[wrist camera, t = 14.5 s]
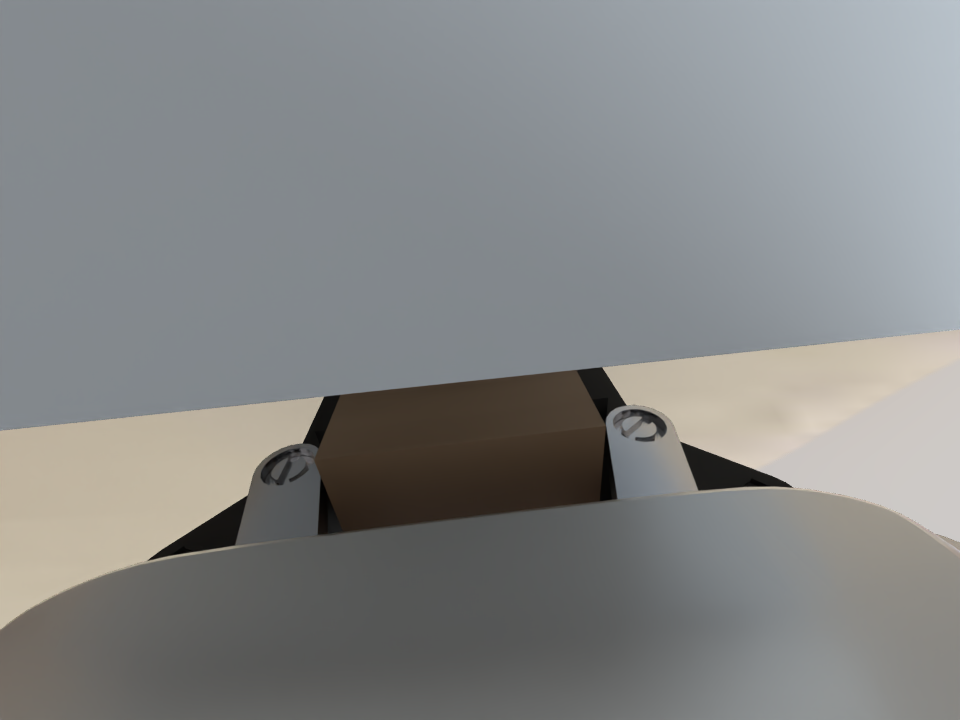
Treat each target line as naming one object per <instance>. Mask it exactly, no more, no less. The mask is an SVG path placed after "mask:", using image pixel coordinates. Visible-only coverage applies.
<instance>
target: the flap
mask: <svg viewBox="0 0 960 720" xmlns="http://www.w3.org/2000/svg"><path fill="white" fill-rule="evenodd" d="M959 329H960V0H0V431H1V430H10V429H20V428H29V427H39V426H48V425H58V424H67V423H77V422H86V421H96V420H105V419H115V418H124V417H134V416H143V415H153V414H162V413H172V412H181V411H191V410H200V409H209V408H219V407H228V406H238V405H247V404H257V403H266V402H276V401H285V400H295V399H304V398H314V397H323V396H333V395H342V394H352V393H361V392H371V391H380V390H390V389H399V388H409V387H418V386H428V385H437V384H447V383H456V382H466V381H475V380H485V379H494V378H504V377H513V376H523V375H532V374H542V373H551V372H561V371H570V370H580V369H589V368H599V367H608V366H618V365H627V364H637V363H646V362H656V361H665V360H675V359H684V358H694V357H703V356H712V355H722V354H731V353H741V352H750V351H760V350H769V349H779V348H788V347H798V346H807V345H817V344H826V343H836V342H845V341H855V340H864V339H874V338H883V337H893V336H902V335H912V334H921V333H931V332H940V331H950V330H959Z"/></svg>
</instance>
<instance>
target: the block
mask: <svg viewBox="0 0 960 720" xmlns="http://www.w3.org/2000/svg"><path fill="white" fill-rule="evenodd" d="M605 431H606V425H605V423H604V421H603V420H602V418H601V416H600V414H599V412H598V410H597V408H596V406H595V404H594V403H593V401H592V399H591V397H590V395H589V393H588V391H587V389H586V388H585V386H584V384H583V382H582V380H581V378H580V376H579V374H578V372H577V371H576V370H570V371H561V372H551V373H542V374H532V375H523V376H513V377H504V378H494V379H485V380H475V381H466V382H456V383H447V384H437V385H428V386H418V387H409V388H399V389H390V390H380V391H371V392H361V393H352V394H342V395H340V398H339V400H338V402H337V405H336V407H335V410H334V412H333V415H332V417H331V420H330V422H329V424H328V427H327V429H326V432H325V434H324V437H323V439H322V442H321V444H320V446H319V449H318V451H317V454H316V456H315V459H314V462H315V464H316V466H317V469H318V471H319V474H320V476H321V479H322V481H323V484H324V486H325V489H326V491H327V493H328V496H329V498H330V501H331V503H332V506H333V508H334V511H335V513H336V515H337V518H338V520H339V523H340V525H341V528H342V530H343V532H347V531H355V530H363V529H371V528H379V527H387V526H395V525H403V524H411V523H420V522H428V521H436V520H445V519H453V518H461V517H470V516H478V515H486V514H495V513H503V512H512V511H520V510H529V509H537V508H546V507H555V506H564V505H572V504H581V503H590V502H599V501H600V491H601V479H602V467H603V455H604V443H605Z"/></svg>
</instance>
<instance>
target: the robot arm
mask: <svg viewBox="0 0 960 720" xmlns="http://www.w3.org/2000/svg"><path fill="white" fill-rule="evenodd" d="M576 371H577V372H578V374H579V376H580V378H581V380H582V382H583V384H584V386H585V388H586V389H587V391H588V393H589V395H590V397H591V399H592V401H593V403H594V404H595V406H596V408H597V410H598V412H599V414H600V416H601V418H602V420H603V421H604V423H605V425H606V431H605V443H604V455H603V467H602V479H601V491H600V501H599V502H590V503H581V504H572V505H564V506H555V507H546V508H537V509H529V510H520V511H512V512H503V513H495V514H486V515H478V516H470V517H461V518H453V519H445V520H436V521H428V522H420V523H411V524H403V525H395V526H387V527H379V528H371V529H363V530H355V531H347V532H343V530H342V528H341V525H340V523H339V520H338V518H337V515H336V513H335V511H334V508H333V506H332V503H331V501H330V498H329V496H328V493H327V491H326V489H325V486H324V484H323V481H322V479H321V476H320V474H319V471H318V469H317V466H316V464H315V462H314V459H315V456H316V454H317V451H318V449H319V446H320V444H321V442H322V439H323V437H324V434H325V432H326V429H327V427H328V424H329V422H330V420H331V417H332V415H333V412H334V410H335V407H336V405H337V402H338V400H339V398H340V395H333V396H324V399H323V401H322V403H321V405H320V407H319V409H318V412H317V414H316V416H315V418H314V420H313V422H312V424H311V427H310V429H309V431H308V433H307V435H306V437H305V440H304V442H303V444H295V445H290V446H287V447H284V448H281V449H279V450H278V451H276V452H274V453H272V454H270V455H269V456H268V457H267V458H265V459H264V460H263V461H262V462H261V463H260V464H259V465H258V467H257V468H256V470H255V472H254V474H253V477H252V481H251V485H250V489H249V493H248V496H246V497H244V498H243V499H241V500H240V501H238V502H236V503H235V504H233V505H232V506H230V507H229V508H227V509H225V510H224V511H222V512H221V513H219V514H218V515H216V516H214V517H213V518H211V519H210V520H208V521H206V522H205V523H203V524H202V525H200V526H199V527H197V528H195V529H194V530H192V531H191V532H189V533H188V534H186V535H184V536H183V537H181V538H180V539H178V540H176V541H175V542H173V543H172V544H170V545H169V546H167V547H165V548H164V549H162V550H161V551H159V552H158V553H157V554H155V555H154V556H153V557H151V558H150V559H149V560H148V561H145V562H141V563H137V564H134V565H131V566H128V567H124V568H121V569H118V570H115V571H112V572H109V573H105V574H103V575H100V576H98V577H95V578H93V579H90V580H88V581H85V582H83V583H81V584H78V585H76V586H73V587H71V588H68V589H66V590H64V591H62V592H60V593H58V594H56V595H54V596H52V597H50V598H48V599H46V600H44V601H42V602H40V603H39V604H37V605H35V606H33V607H31V608H30V609H28V610H26V611H25V612H23V613H22V614H20V615H19V616H17V617H16V618H15V619H13V620H12V621H10V622H9V623H8V624H7V625H5V626H4V627H3V628H2V629H1V630H0V720H960V543H959V542H957V541H954V540H952V539H949V538H946V537H944V536H941V535H938V534H934V533H933V532H931V531H930V530H928V529H926V528H925V527H923V526H922V525H920V524H918V523H917V522H915V521H913V520H911V519H909V518H908V517H906V516H904V515H902V514H900V513H898V512H896V511H893V510H891V509H888V508H886V507H884V506H881V505H878V504H875V503H871V502H868V501H865V500H861V499H857V498H853V497H849V496H845V495H840V494H833V493H828V492H822V491H817V490H811V489H801V488H793V487H792V486H790V485H789V484H787V483H786V482H784V481H781V480H779V479H777V478H775V477H773V476H770V475H768V474H765V473H762V472H760V471H757V470H754V469H752V468H749V467H746V466H744V465H741V464H738V463H736V462H733V461H730V460H728V459H725V458H722V457H720V456H717V455H714V454H712V453H709V452H706V451H704V450H701V449H698V448H696V447H693V446H690V445H688V444H685V443H682V442H680V440H679V438H678V435H677V432H676V430H675V427H674V425H673V423H672V422H671V420H670V419H669V418H668V417H667V416H665V415H664V414H663V413H661V412H659V411H657V410H655V409H652V408H649V407H645V406H638V405H628V406H627V405H626V404H625V402H624V401H623V399H622V398H621V396H620V395H619V393H618V391H617V390H616V388H615V387H614V385H613V384H612V382H611V381H610V379H609V377H608V376H607V374H606V373H605V371H604V370H603V368H602V367H599V368H589V369H580V370H576Z"/></svg>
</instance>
